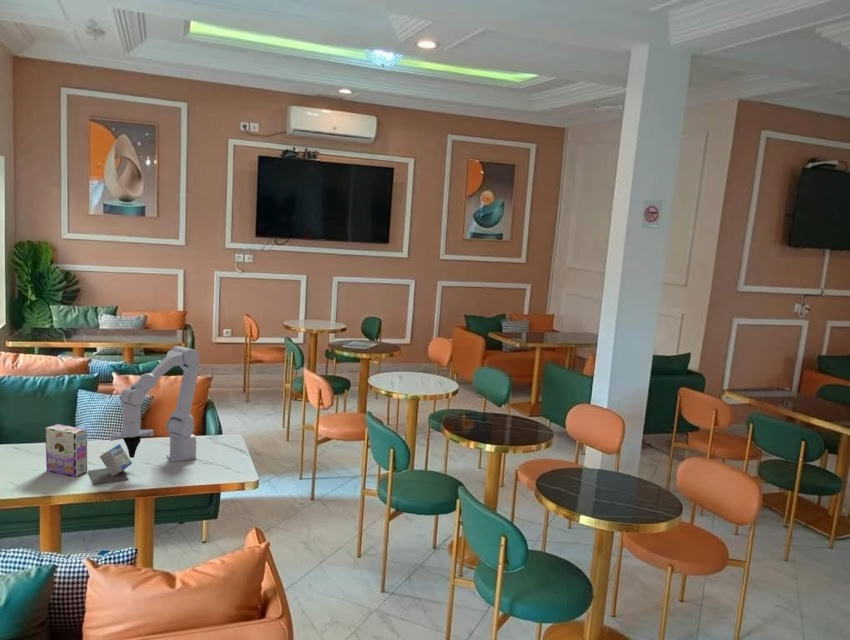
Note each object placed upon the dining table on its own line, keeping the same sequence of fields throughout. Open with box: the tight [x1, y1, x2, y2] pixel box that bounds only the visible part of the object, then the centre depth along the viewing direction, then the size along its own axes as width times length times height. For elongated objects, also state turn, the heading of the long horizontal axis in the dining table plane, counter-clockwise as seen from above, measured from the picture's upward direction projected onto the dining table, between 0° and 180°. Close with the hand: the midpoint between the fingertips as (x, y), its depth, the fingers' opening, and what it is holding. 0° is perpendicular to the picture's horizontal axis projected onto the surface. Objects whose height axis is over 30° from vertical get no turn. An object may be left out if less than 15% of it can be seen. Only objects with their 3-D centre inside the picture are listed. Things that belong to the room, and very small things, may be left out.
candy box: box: [44, 423, 88, 478], centre depth 236 cm, size 14×6×16 cm, turn 71°
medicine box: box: [99, 443, 133, 476], centre depth 238 cm, size 8×4×9 cm
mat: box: [87, 467, 129, 486], centre depth 236 cm, size 11×14×1 cm
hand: (131, 456), depth 240 cm, fingers closed
